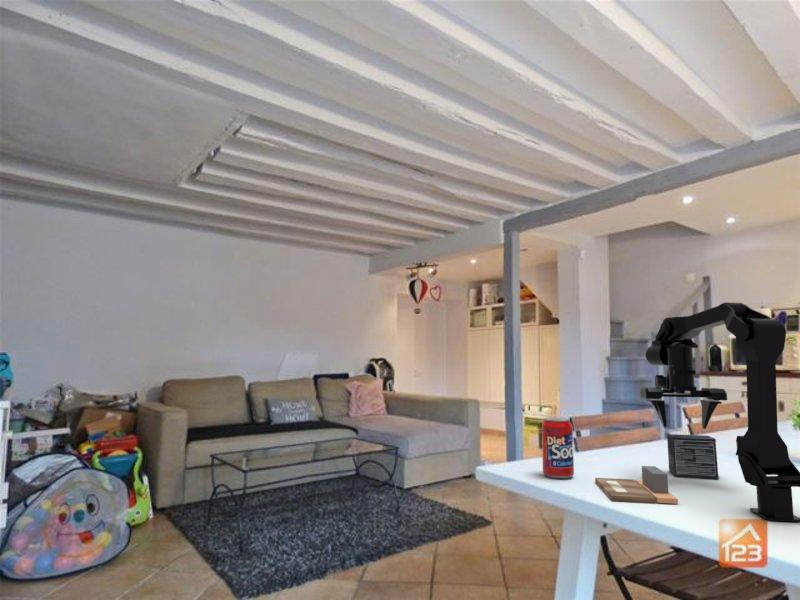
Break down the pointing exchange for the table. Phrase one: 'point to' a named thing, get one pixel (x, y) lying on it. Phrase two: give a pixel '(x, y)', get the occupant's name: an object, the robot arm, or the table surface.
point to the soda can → (557, 448)
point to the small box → (692, 456)
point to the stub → (656, 484)
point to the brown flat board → (624, 490)
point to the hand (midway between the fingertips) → (684, 428)
